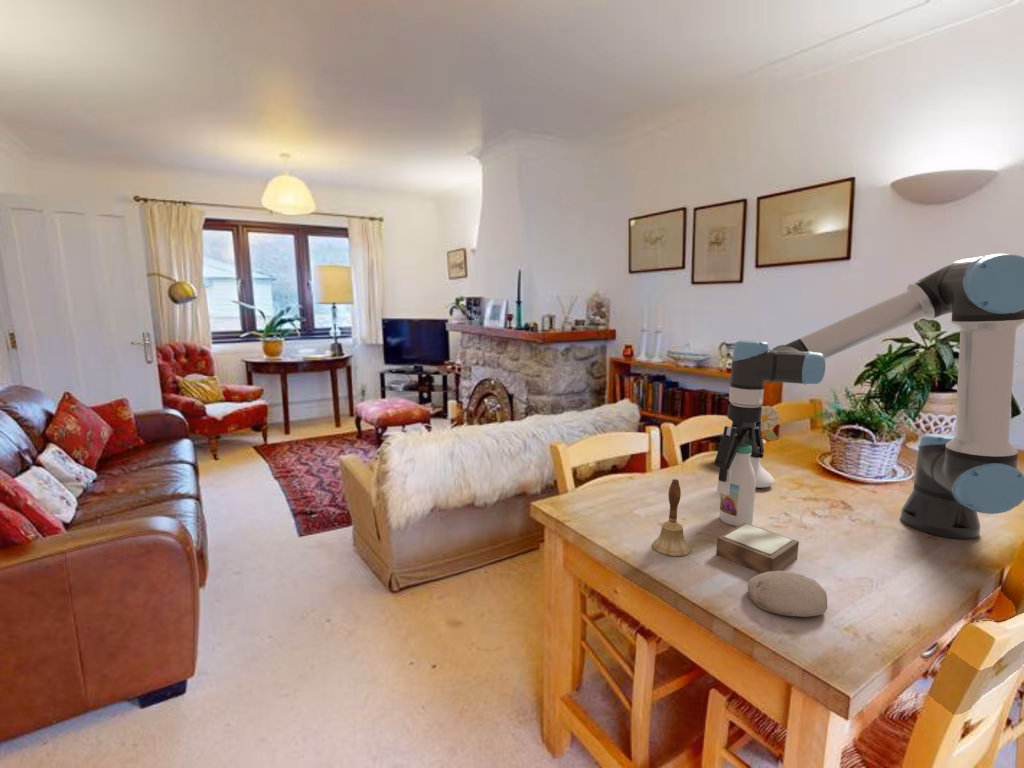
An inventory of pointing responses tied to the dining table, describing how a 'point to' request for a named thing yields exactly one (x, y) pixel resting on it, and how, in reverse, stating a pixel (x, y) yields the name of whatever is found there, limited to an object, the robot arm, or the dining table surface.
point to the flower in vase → (767, 423)
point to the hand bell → (672, 528)
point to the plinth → (757, 548)
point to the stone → (788, 594)
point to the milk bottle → (740, 490)
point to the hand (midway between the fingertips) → (737, 487)
